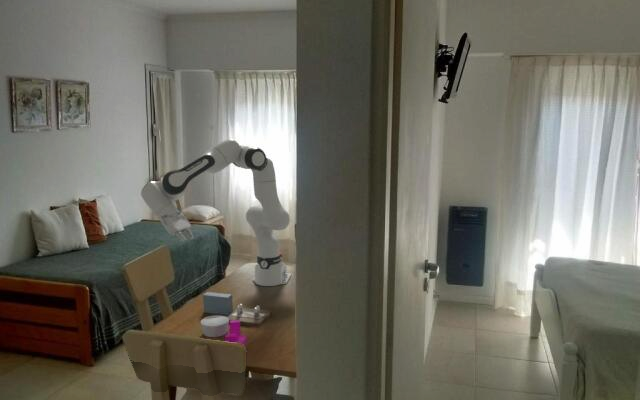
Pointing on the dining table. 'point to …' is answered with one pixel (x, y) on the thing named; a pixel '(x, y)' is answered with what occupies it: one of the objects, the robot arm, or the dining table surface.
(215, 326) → the ramekin
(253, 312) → the peg stand
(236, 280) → the dining table surface
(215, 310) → the slate block
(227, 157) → the robot arm
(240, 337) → the toy block
